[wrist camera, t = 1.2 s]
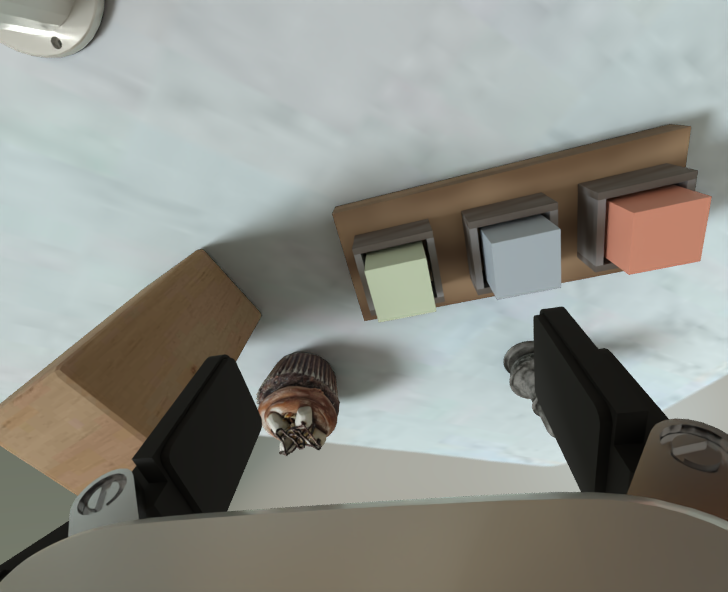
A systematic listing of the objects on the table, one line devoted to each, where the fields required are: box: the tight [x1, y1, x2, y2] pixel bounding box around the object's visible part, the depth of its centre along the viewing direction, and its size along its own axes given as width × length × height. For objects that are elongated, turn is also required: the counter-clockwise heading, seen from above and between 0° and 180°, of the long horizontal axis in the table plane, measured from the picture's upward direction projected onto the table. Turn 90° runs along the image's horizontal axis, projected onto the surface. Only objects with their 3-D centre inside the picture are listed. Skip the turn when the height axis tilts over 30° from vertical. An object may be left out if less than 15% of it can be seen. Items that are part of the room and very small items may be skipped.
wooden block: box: [0, 249, 261, 496], centre depth 34 cm, size 10×10×20 cm
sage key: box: [364, 240, 436, 322], centre depth 32 cm, size 5×5×4 cm
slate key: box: [480, 214, 561, 300], centre depth 31 cm, size 5×5×4 cm
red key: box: [604, 184, 712, 275], centre depth 29 cm, size 5×5×4 cm
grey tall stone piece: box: [504, 341, 555, 437], centre depth 39 cm, size 6×6×12 cm
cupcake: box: [256, 352, 340, 456], centre depth 43 cm, size 10×10×10 cm
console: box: [332, 124, 698, 321], centre depth 34 cm, size 12×30×6 cm, turn 104°
